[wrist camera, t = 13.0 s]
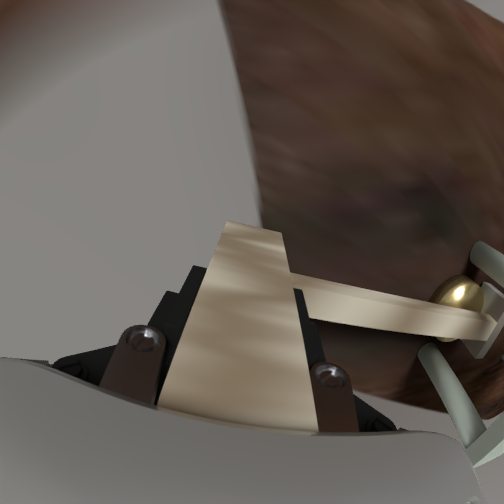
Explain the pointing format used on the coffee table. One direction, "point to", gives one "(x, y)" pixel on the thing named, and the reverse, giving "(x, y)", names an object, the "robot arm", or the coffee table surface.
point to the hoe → (286, 333)
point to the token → (459, 296)
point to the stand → (450, 389)
